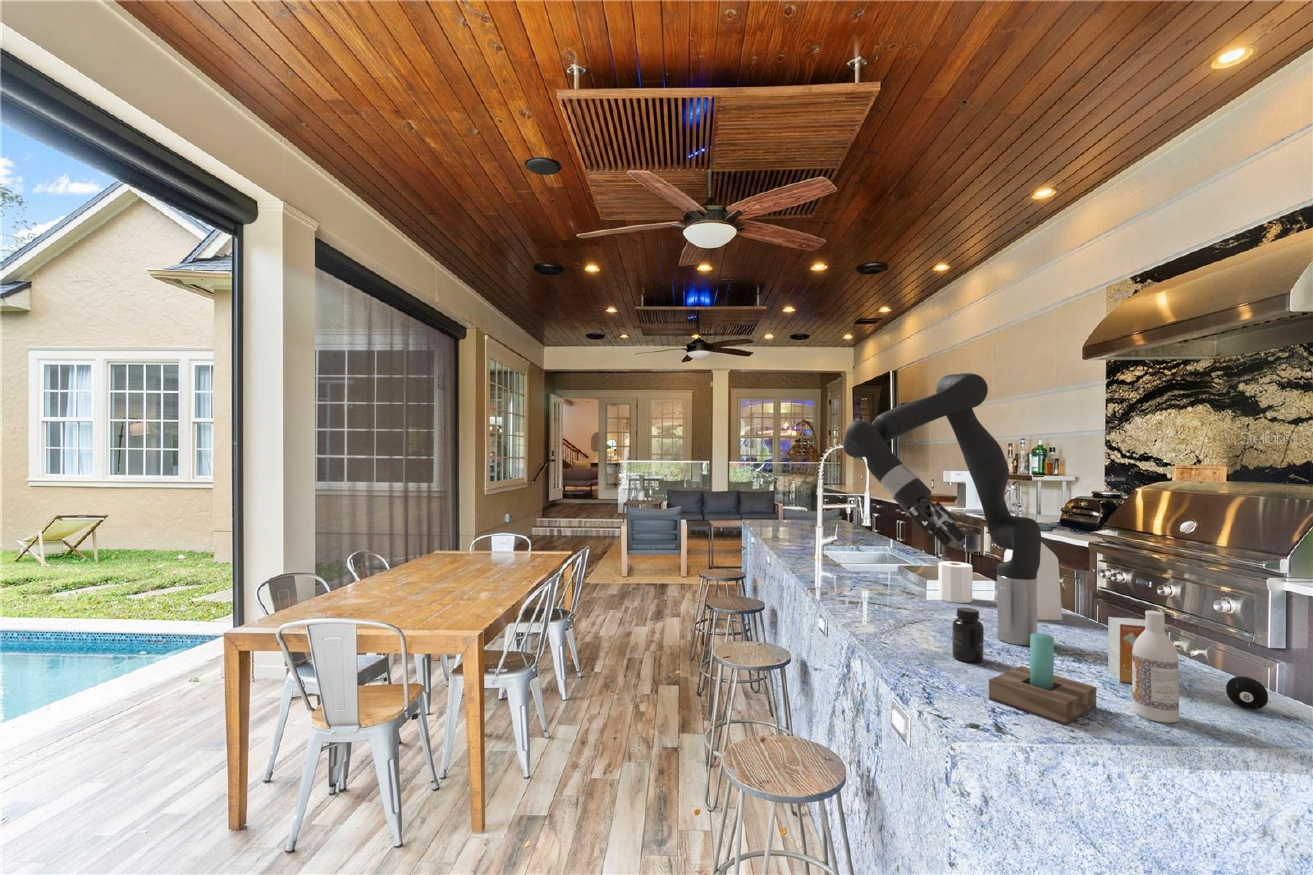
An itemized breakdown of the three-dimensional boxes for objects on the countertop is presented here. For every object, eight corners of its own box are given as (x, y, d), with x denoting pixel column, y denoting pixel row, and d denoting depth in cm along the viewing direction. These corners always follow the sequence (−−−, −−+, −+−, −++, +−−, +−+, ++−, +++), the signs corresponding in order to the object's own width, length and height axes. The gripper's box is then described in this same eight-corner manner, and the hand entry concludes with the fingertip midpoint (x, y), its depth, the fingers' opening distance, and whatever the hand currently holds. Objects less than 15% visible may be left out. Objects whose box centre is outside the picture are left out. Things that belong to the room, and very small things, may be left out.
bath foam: (1133, 705, 121) (1132, 605, 121) (1178, 715, 116) (1177, 611, 117) (1131, 716, 116) (1131, 612, 116) (1179, 727, 111) (1178, 619, 111)
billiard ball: (1225, 707, 120) (1225, 677, 120) (1226, 699, 124) (1226, 669, 124) (1268, 717, 116) (1268, 686, 116) (1268, 708, 120) (1268, 677, 120)
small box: (1119, 682, 132) (1119, 623, 133) (1107, 672, 138) (1107, 615, 139) (1164, 687, 130) (1163, 627, 130) (1149, 676, 136) (1149, 619, 136)
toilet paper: (966, 596, 209) (966, 561, 209) (976, 604, 199) (976, 567, 199) (935, 595, 211) (935, 560, 211) (943, 602, 201) (943, 566, 201)
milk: (1062, 619, 181) (1061, 533, 181) (1023, 619, 181) (1023, 533, 182) (1037, 609, 193) (1037, 528, 193) (1001, 608, 193) (1001, 527, 194)
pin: (1035, 694, 124) (1035, 631, 125) (1056, 701, 121) (1057, 637, 121) (1026, 699, 122) (1026, 635, 122) (1047, 706, 119) (1048, 640, 119)
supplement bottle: (987, 664, 143) (987, 614, 143) (956, 662, 144) (956, 612, 145) (978, 655, 150) (978, 606, 150) (949, 653, 151) (948, 605, 151)
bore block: (1021, 684, 131) (1021, 665, 131) (1096, 707, 120) (1096, 687, 120) (989, 699, 123) (988, 679, 123) (1065, 725, 112) (1065, 703, 112)
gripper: (903, 478, 136) (957, 534, 128) (928, 476, 146) (979, 527, 138) (881, 499, 140) (931, 555, 132) (906, 496, 150) (955, 548, 142)
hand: (956, 541), depth 135 cm, fingers open, 8 cm apart
